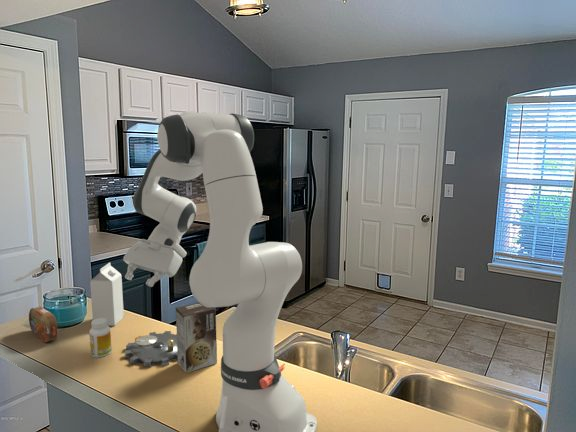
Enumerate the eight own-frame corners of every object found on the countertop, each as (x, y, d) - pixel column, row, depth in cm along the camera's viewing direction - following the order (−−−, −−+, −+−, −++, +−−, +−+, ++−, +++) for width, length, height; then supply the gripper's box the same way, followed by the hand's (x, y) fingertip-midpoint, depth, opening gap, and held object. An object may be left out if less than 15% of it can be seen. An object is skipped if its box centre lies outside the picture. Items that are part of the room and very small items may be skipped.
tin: (29, 330, 135) (26, 305, 133) (39, 327, 137) (37, 302, 135) (49, 346, 125) (46, 319, 123) (60, 342, 127) (58, 316, 126)
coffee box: (207, 353, 123) (206, 300, 120) (217, 363, 118) (217, 308, 115) (176, 362, 118) (174, 307, 115) (185, 373, 113) (183, 315, 110)
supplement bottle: (115, 348, 125) (113, 317, 123) (105, 358, 119) (103, 325, 117) (97, 347, 125) (95, 316, 123) (87, 357, 120) (84, 324, 118)
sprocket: (203, 346, 127) (203, 331, 126) (155, 374, 112) (154, 358, 111) (161, 330, 136) (160, 316, 136) (111, 354, 121) (110, 339, 121)
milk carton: (93, 325, 139) (88, 268, 135) (103, 316, 146) (99, 261, 142) (114, 326, 138) (111, 269, 135) (124, 316, 145) (120, 262, 142)
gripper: (133, 232, 138) (108, 270, 132) (179, 243, 128) (154, 284, 122) (145, 243, 143) (121, 279, 137) (190, 254, 133) (167, 294, 126)
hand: (137, 282), depth 129 cm, fingers open, 8 cm apart
